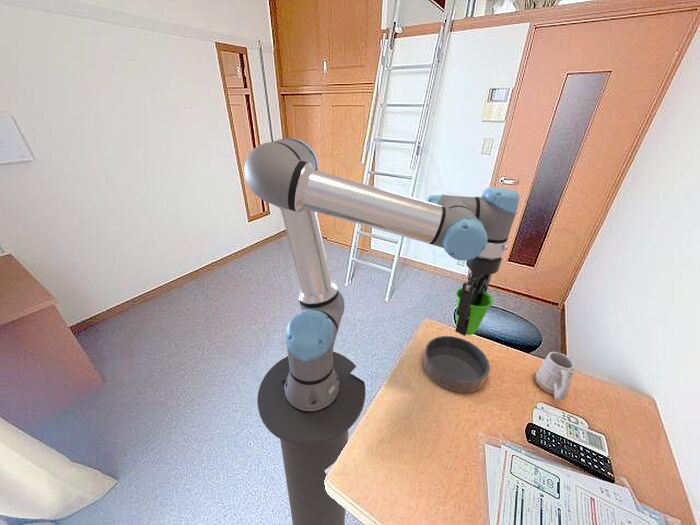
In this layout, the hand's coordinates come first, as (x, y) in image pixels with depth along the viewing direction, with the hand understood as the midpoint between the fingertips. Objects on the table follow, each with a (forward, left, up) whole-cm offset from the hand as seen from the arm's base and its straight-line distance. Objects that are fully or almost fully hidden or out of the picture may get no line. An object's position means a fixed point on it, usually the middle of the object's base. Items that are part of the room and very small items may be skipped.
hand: (465, 327), depth 80 cm
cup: (0, 0, 0) cm, 1 cm away
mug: (+25, +9, -16) cm, 31 cm away
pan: (0, 0, -16) cm, 16 cm away
